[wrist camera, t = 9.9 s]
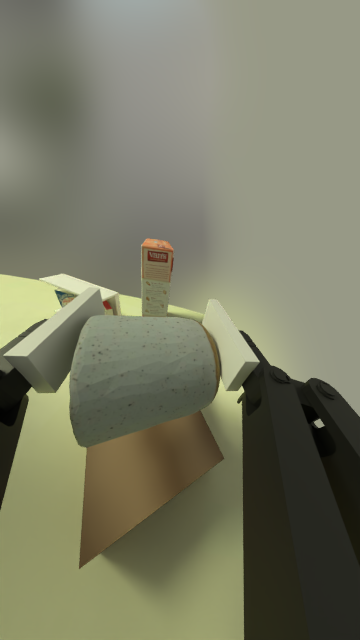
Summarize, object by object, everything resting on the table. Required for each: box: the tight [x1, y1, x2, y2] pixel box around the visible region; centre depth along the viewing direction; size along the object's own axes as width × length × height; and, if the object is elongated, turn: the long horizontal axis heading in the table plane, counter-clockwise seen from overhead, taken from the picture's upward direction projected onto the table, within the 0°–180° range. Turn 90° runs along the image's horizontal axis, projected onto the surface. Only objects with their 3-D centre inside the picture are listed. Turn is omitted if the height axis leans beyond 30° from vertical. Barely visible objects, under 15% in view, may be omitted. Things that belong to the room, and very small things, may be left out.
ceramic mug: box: [69, 315, 220, 448], centre depth 11 cm, size 11×8×8 cm
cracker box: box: [141, 239, 174, 317], centre depth 33 cm, size 14×6×21 cm, turn 8°
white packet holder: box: [39, 274, 121, 316], centre depth 34 cm, size 20×6×9 cm, turn 67°
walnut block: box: [79, 410, 224, 569], centre depth 17 cm, size 12×12×6 cm
